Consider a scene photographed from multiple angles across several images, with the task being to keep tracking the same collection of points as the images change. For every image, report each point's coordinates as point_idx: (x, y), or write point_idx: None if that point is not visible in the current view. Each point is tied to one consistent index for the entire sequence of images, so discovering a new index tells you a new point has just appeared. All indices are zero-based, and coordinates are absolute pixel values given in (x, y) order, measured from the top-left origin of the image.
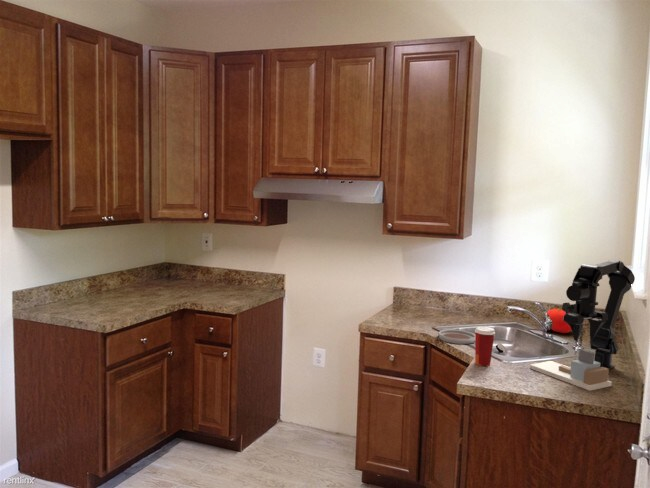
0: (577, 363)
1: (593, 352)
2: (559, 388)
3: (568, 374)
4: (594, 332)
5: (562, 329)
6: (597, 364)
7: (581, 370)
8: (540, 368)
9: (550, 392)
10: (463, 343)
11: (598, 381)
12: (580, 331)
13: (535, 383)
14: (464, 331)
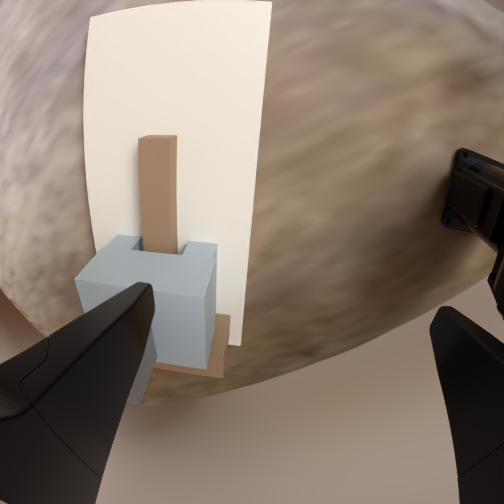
0: (86, 309)
1: (136, 403)
2: (41, 253)
3: (135, 209)
4: (451, 393)
5: None
6: (182, 362)
7: None
8: (85, 80)
9: (7, 258)
10: None
11: None
12: (99, 441)
13: (4, 185)
14: None
